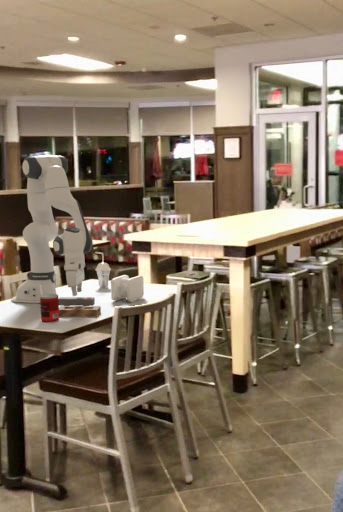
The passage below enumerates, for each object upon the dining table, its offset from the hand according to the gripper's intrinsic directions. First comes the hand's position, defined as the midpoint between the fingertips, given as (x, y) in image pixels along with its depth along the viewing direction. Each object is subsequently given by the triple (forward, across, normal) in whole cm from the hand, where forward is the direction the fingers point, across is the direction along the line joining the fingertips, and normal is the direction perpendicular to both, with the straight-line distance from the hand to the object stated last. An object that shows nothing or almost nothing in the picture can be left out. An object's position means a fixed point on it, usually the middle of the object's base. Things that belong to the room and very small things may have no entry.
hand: (77, 293), depth 313 cm
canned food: (+8, +20, -8) cm, 23 cm away
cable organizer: (+9, -25, +19) cm, 32 cm away
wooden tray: (+8, +8, +2) cm, 12 cm away
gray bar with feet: (+8, -1, -1) cm, 8 cm away
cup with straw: (+8, -58, +1) cm, 58 cm away
